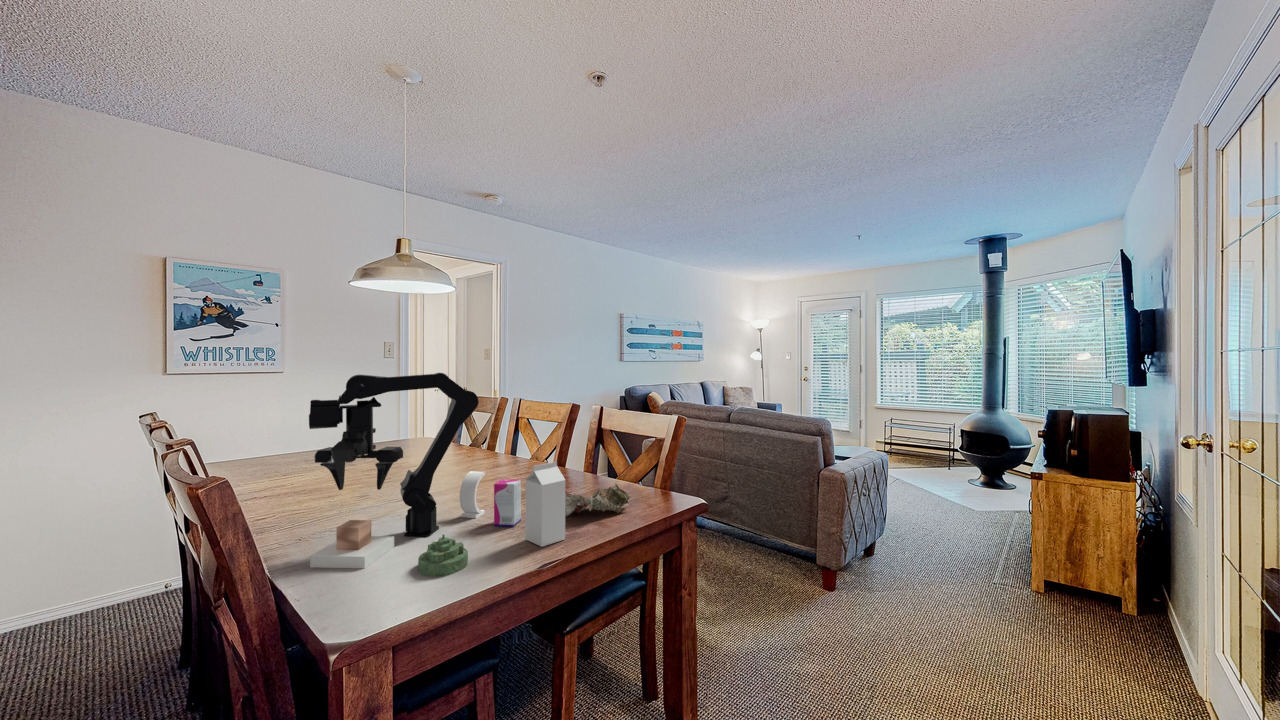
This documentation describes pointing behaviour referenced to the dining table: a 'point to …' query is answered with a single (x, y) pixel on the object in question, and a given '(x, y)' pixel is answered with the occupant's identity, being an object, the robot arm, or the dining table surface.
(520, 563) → the dining table surface
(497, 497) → the supplement box
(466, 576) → the dining table surface
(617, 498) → the grey furry oblong lump
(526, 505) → the milk carton
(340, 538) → the terracotta cube
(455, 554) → the decorative artifact
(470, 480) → the headphone stand
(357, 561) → the grey plate
